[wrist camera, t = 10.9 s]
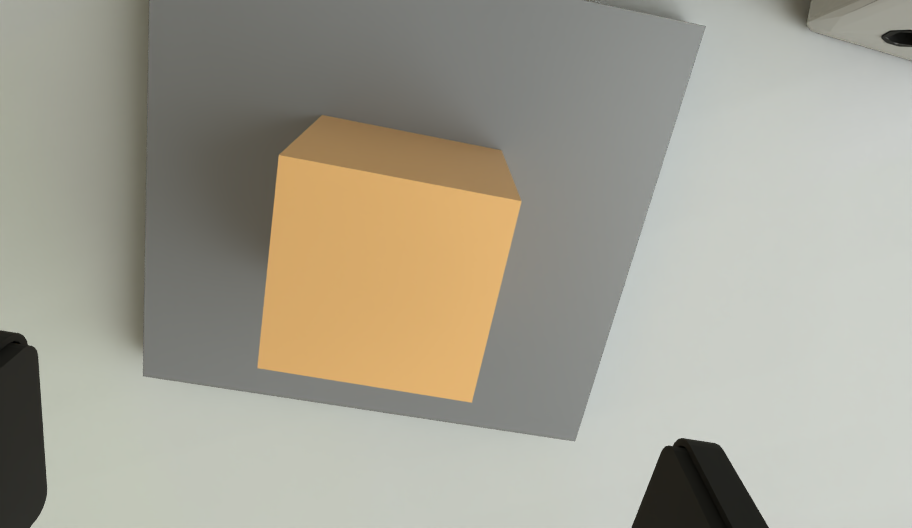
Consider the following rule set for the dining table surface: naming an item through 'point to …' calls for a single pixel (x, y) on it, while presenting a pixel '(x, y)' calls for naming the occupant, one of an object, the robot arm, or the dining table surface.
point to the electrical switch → (866, 23)
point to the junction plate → (422, 112)
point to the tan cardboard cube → (386, 258)
